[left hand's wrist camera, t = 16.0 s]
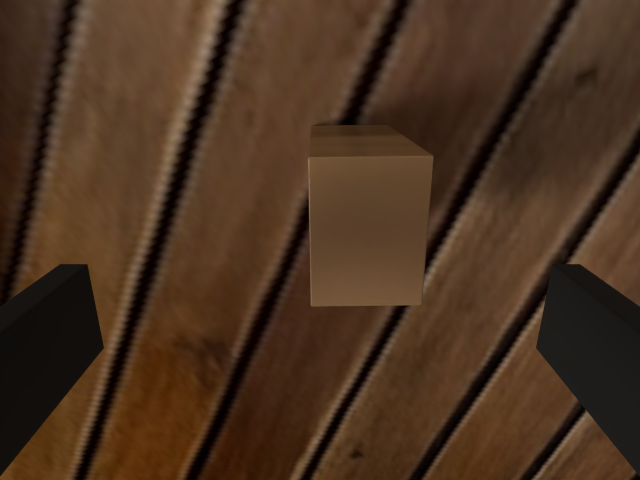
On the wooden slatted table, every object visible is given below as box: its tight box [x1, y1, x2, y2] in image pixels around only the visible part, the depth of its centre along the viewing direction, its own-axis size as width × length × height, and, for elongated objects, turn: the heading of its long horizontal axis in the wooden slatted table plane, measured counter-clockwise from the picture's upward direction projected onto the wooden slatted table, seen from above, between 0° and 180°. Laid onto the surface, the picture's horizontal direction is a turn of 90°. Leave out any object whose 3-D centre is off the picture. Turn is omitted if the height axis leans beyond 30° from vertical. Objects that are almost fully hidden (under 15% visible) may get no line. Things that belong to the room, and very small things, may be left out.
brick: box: [308, 125, 434, 306], centre depth 22 cm, size 6×5×11 cm
